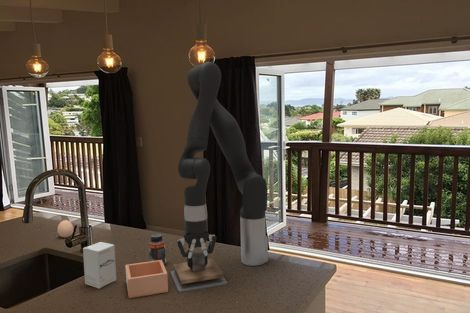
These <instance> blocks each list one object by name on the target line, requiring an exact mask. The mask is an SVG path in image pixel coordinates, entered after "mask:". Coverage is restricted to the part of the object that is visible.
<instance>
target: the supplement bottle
mask: <svg viewBox="0 0 470 313" xmlns="http://www.w3.org/2000/svg"><path fill="white" fill-rule="evenodd" d="M166 252H167V251H166V241H165V240H164V238H163V235H162V234H161V233H154V234H151V236H150V240H149V241H148V254H149V255H148V256H149V257H148V258H149V262H150V261H157V260H162V262H163V264H164V266H165V265H166V264H167V256H166V254H167V253H166Z"/></svg>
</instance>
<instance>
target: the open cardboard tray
mask: <svg viewBox="0 0 470 313" xmlns="http://www.w3.org/2000/svg"><path fill="white" fill-rule="evenodd" d="M168 278H169V276H168V271H167V270H166V267H165V265H164V264H163V262H162V260H157V261H150V260H149V261H145V262H137V263H130V264H125V281H126V289H127V295H128V299H133V298H138V297H145V296H150V295H156V294H162V293H163V294H164V293H168V292H169V282H168V281H169V279H168Z"/></svg>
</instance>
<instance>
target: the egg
mask: <svg viewBox="0 0 470 313" xmlns="http://www.w3.org/2000/svg"><path fill="white" fill-rule="evenodd" d="M73 232H74V226H73V223H72V222H71V221H69V220H67V219H64V220H62V221H60V222H59V223H58V225H57V234H58V235H59V236H60V237H61V238H69V237H70V236H71V235H72V234H73Z"/></svg>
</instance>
